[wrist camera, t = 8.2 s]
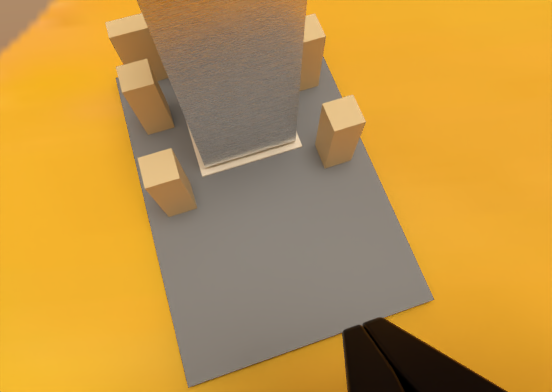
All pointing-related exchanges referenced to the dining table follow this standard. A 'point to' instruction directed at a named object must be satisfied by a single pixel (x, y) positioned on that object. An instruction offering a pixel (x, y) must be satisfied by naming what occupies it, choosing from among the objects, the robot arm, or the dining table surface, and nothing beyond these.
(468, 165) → the dining table surface
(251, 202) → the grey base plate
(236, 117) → the pillar on grey plate
